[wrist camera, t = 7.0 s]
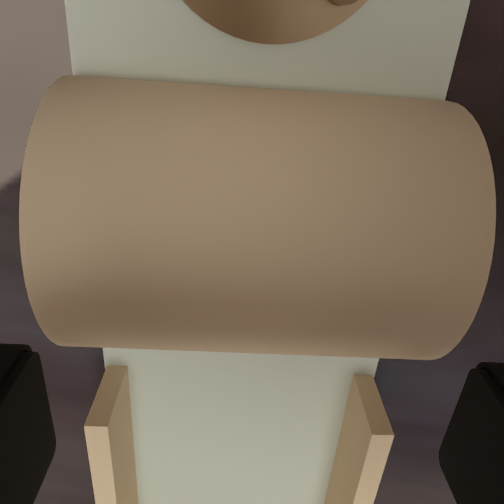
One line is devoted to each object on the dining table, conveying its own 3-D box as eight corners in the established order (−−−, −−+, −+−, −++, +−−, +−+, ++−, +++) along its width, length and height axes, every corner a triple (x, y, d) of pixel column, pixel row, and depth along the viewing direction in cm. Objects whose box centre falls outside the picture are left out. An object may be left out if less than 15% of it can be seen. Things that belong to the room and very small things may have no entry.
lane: (479, -222, 12) (794, -539, 5) (310, 545, 29) (333, 714, 22) (74, -264, 12) (-174, -681, 5) (140, 543, 29) (107, 715, 22)
